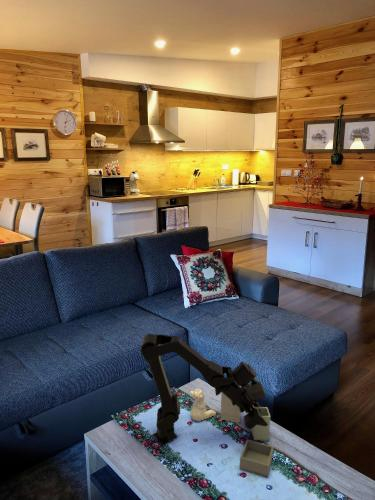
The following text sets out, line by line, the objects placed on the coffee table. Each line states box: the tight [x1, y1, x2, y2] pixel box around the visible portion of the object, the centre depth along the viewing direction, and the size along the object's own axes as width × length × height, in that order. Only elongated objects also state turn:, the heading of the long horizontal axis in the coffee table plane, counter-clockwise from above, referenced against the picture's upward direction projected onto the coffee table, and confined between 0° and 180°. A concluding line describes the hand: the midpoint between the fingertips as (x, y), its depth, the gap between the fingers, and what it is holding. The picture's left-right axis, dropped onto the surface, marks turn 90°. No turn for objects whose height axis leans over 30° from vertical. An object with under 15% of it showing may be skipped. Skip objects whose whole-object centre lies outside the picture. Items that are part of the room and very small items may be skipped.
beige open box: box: [251, 406, 271, 442], centre depth 143 cm, size 5×5×10 cm
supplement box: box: [220, 386, 241, 424], centre depth 153 cm, size 7×7×13 cm
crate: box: [239, 439, 274, 479], centre depth 131 cm, size 9×9×4 cm
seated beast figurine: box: [190, 388, 217, 422], centre depth 153 cm, size 10×9×12 cm
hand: (265, 420), depth 143 cm, fingers closed on beige open box, 5 cm apart
